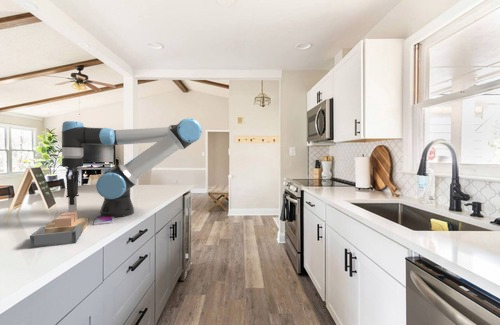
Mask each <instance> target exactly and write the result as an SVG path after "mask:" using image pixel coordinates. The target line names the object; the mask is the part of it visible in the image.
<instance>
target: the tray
mask: <svg viewBox="0 0 500 325" xmlns="http://www.w3.org/2000/svg"><path fill="white" fill-rule="evenodd" d="M82 234H83V233H82V223H80V224H78V225H77V226H76V227H75V229H74V230H73V231H68V232H58V233H47V234H45V226H41V227H39V228H38V229H37V230H36V231H35V232H33V233H31V235H29V249H36V248H37V249H39V248H47V247H55V246H64V245H72V244H73V245H74V244H77V242H78V240H79V239H80V237H81V236H82Z"/></svg>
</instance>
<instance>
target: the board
mask: <svg viewBox="0 0 500 325" xmlns="http://www.w3.org/2000/svg"><path fill="white" fill-rule="evenodd" d="M80 223H82V234H83V233H84V231H85V230H86V228H87V226H88V224H89V217H88V216H87V217H86V216H85V217H77V220H76V221H75V222H74V223H73V225H72V226H65V227H55V219H52V221H50V222H49V223H48V224H46V225H45V226H44V227H45V234H47V233H58V232H68V231H73V230H74V229H75V227H76V226H77V225H78V224H80Z"/></svg>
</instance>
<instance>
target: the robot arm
mask: <svg viewBox="0 0 500 325" xmlns="http://www.w3.org/2000/svg"><path fill="white" fill-rule="evenodd" d="M61 126H62V127H61V143H62V144H61V147H62V148H61V149H60V152H61V156H62V158H61V166H62V168H63V167H64V168H67V171H66V172H65V173H66V174H65V179H66V193H67V194H66V195H65V196H66V198H68V202H67V203H68V211H67V212H78V211H77V210H78V208H77V207H78V205H77V203H78V201H77V200H78V198H77V197H79V196H80V194H78V193H79V191H78V190H79V176H80V171H79V170H78V168H83V166H84V158H83V157H84V145H93V146H94V145H95V146H103V147H110V146H119V145H121V146H122V145H133V144H134V145H135V144H136V145H138V144H149V143H150V144H151V143H154V144H153V145H151V146H150V147H148V148H147V149H146V150H144V151H142V152H141V153H139V154H138V155H137V156H136V157H134V158H132V159H130V160H129V161H128V162H127V163H125V164H117V165H116V166H115V167H112V168H109V167H108V168H105V169H104V171H103V172H104V173H103V174H101V175H100V176H99V177H98V179H97V181H96V184H95V186H96V187H95V188H96V191H97V193H98V194H99V195H100V197H103V201H102V205H101V208H100V211H99V216H104V217H113V218H120V217H126V216H129V215H133V214H134V213H135V207H134V205H133V202H132V199H131V188H133V187H134V186H135V185H137V180H138V179H140V178H141V177H142V176H144V175H145V174H147V173H148V172H150V171H151V170H152V169H154V168H155V167H156V166H157V165H159V164H161V163H162V162H163V161H165V160H166V159H167V158H168V157H170V156H172V155H173V154H174V153H176V152H177V151H178V150H185V149H186V148H187V147H190V145H192V144H193V143H196V142H197V141H198V140H200V138H201V137H202V131H203V130H202V126H201V124H200V122H199V121H197V119H194V118H189V117H188V118H187V117H186V118H184V119H182V120H180V121H179V122H178V123H177V124H169V126H168V127H167V126H165V127H150V128H149V127H147V128H130V129H127V128H126V129H112V128H107V127H86V126H85V125H84V123H83V122H80V121H74V120H73V121H69V120H68V121H64V122H62V125H61Z"/></svg>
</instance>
